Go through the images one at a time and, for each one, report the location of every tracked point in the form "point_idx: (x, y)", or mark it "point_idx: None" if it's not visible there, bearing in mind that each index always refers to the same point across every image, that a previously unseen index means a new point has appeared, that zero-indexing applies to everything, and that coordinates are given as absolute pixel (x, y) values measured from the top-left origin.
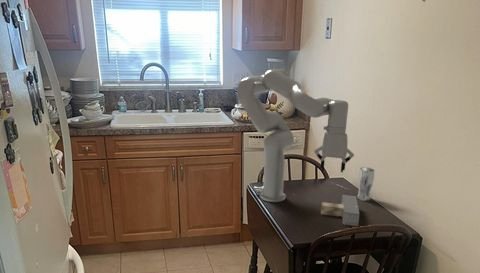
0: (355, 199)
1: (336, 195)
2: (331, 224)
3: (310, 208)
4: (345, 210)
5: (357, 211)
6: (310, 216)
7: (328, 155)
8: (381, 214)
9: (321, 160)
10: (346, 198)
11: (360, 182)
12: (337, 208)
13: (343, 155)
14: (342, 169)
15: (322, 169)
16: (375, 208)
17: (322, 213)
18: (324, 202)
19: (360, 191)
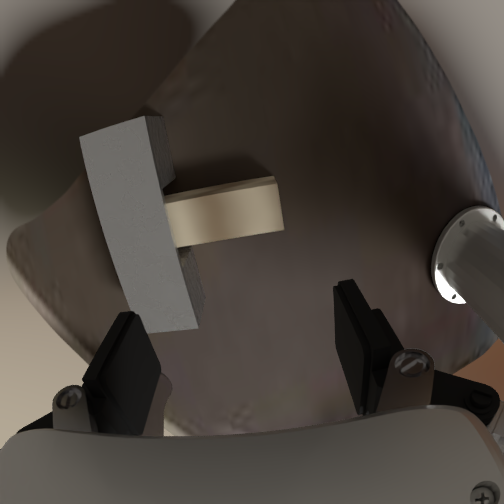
0: (131, 299)
1: (243, 377)
2: (209, 92)
3: (327, 214)
4: (141, 138)
5: (90, 159)
6: (313, 129)
7: (340, 445)
8: (65, 286)
9: (414, 357)
10: (170, 293)
11: (148, 423)
12: (196, 196)
13: (16, 461)
14: (115, 330)
15: (349, 283)
16: (94, 325)
17: (266, 177)
18: (270, 231)
19: (153, 397)
